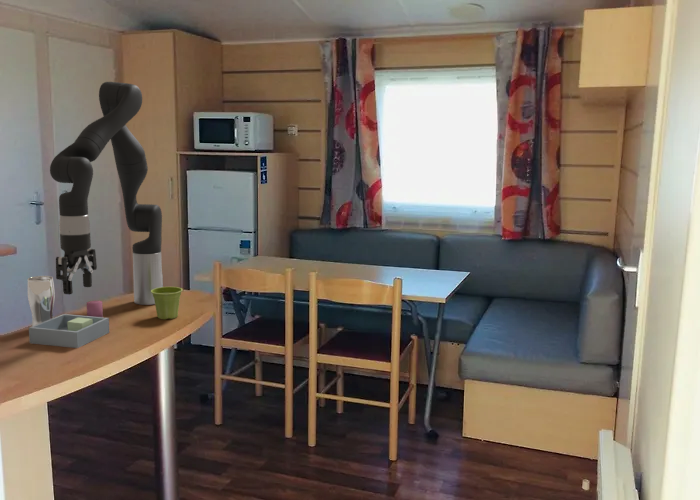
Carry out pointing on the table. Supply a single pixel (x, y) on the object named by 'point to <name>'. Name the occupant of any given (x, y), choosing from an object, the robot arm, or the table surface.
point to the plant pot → (167, 301)
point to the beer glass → (41, 298)
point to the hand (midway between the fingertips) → (78, 290)
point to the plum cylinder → (94, 309)
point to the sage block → (79, 323)
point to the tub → (59, 335)
